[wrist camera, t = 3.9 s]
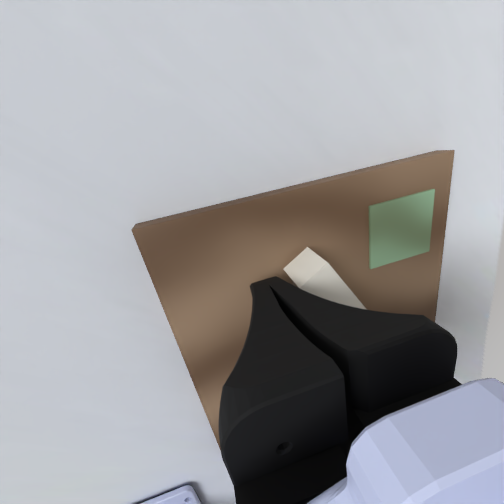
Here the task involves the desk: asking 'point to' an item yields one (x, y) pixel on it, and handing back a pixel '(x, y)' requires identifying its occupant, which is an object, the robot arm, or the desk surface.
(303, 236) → the board
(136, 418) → the desk surface
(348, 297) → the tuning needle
